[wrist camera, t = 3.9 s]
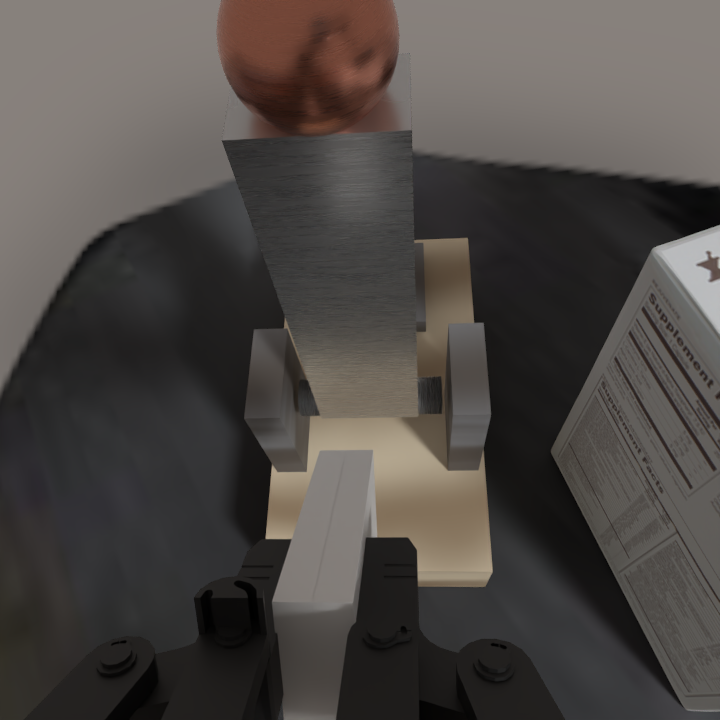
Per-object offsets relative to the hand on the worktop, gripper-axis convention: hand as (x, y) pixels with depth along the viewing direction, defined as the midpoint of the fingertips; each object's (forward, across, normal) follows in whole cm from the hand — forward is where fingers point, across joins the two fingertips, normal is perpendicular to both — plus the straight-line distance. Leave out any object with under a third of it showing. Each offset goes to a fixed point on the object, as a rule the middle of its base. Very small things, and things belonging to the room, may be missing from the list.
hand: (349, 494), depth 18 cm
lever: (+11, 0, +1) cm, 11 cm away
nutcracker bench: (+17, 0, +4) cm, 18 cm away
